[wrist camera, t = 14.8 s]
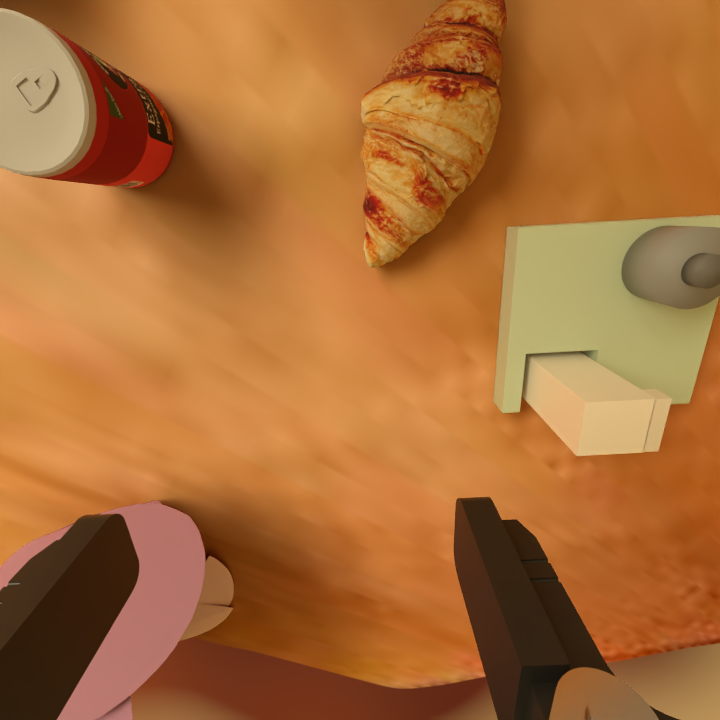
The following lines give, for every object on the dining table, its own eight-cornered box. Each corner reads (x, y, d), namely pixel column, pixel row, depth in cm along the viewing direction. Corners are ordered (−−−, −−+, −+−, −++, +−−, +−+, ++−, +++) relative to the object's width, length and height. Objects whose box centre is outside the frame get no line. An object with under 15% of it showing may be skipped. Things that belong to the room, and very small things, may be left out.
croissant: (397, 270, 38) (447, 299, 32) (306, 241, 32) (345, 270, 26) (500, 19, 31) (589, -5, 25) (404, -73, 25) (489, -134, 19)
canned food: (197, 135, 31) (117, 95, 20) (140, 210, 33) (40, 208, 22) (114, 52, 29) (-21, -40, 18) (58, 137, 31) (-92, 97, 20)
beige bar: (522, 351, 37) (585, 402, 27) (585, 347, 37) (672, 397, 27) (518, 392, 39) (576, 456, 29) (578, 389, 39) (658, 451, 29)
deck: (507, 226, 33) (548, 229, 26) (715, 214, 33) (814, 214, 26) (493, 401, 39) (524, 442, 32) (669, 392, 39) (740, 431, 32)
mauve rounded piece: (244, 631, 58) (225, 972, 34) (68, 661, 53) (-104, 1087, 29) (223, 450, 43) (157, 839, 18) (-28, 470, 38) (-586, 1042, 13)
